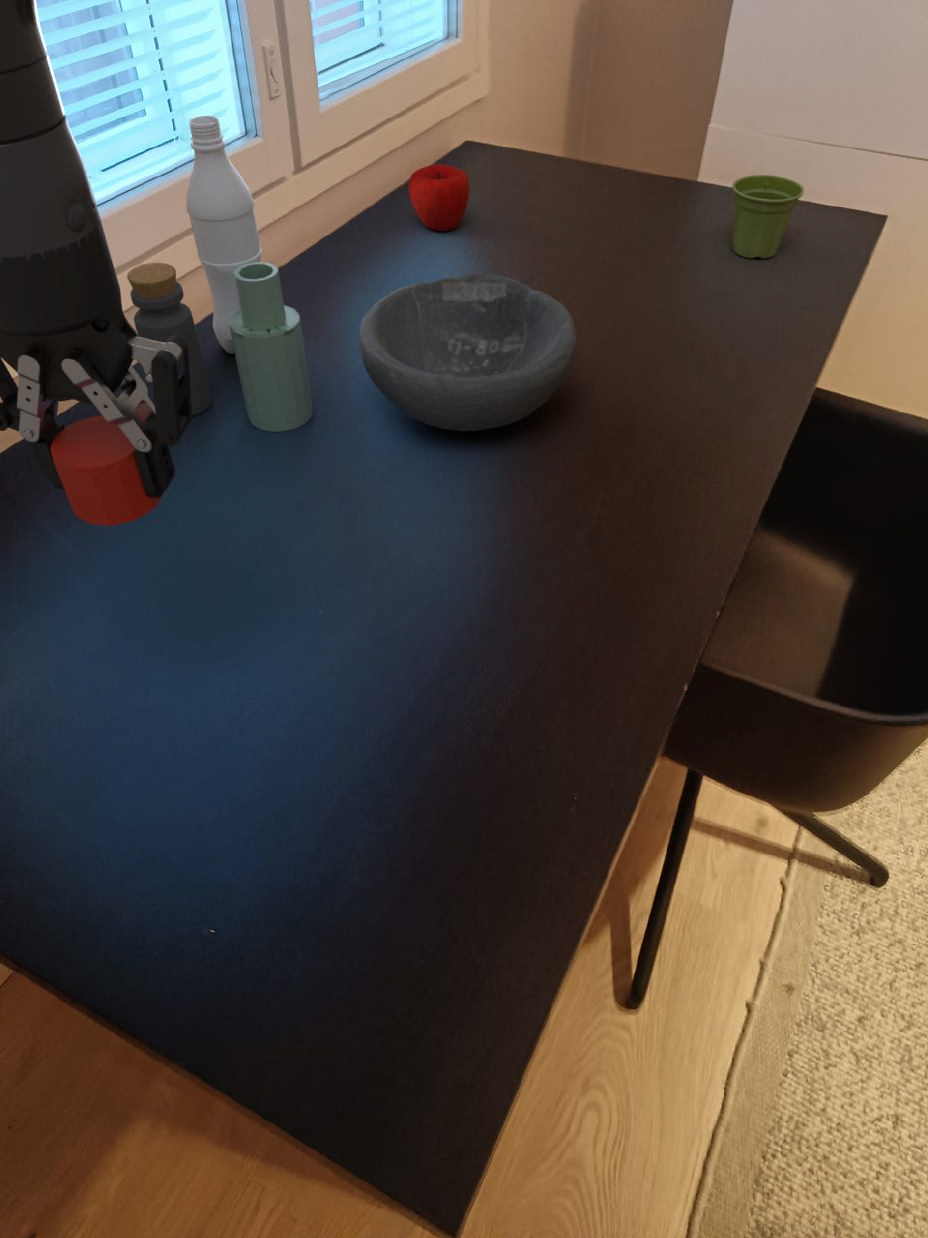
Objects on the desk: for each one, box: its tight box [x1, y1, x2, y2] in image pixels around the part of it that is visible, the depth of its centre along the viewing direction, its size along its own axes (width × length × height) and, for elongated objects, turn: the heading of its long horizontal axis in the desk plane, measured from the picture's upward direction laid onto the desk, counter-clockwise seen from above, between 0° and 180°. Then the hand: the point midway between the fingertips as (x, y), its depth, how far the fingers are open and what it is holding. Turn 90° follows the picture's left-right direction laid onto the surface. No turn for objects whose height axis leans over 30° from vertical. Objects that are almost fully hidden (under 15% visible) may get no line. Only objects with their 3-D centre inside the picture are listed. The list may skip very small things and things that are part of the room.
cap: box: [51, 415, 164, 527], centre depth 57 cm, size 6×6×4 cm
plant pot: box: [731, 174, 805, 260], centre depth 124 cm, size 9×9×9 cm
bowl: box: [359, 272, 577, 432], centre depth 96 cm, size 23×22×10 cm
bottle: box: [126, 262, 213, 417], centre depth 94 cm, size 6×6×15 cm
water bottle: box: [185, 115, 263, 355], centre depth 100 cm, size 7×7×25 cm
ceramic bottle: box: [229, 261, 314, 433], centre depth 92 cm, size 7×7×16 cm
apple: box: [408, 164, 470, 232], centre depth 131 cm, size 9×9×8 cm
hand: (113, 484), depth 58 cm, fingers closed on cap, 5 cm apart
